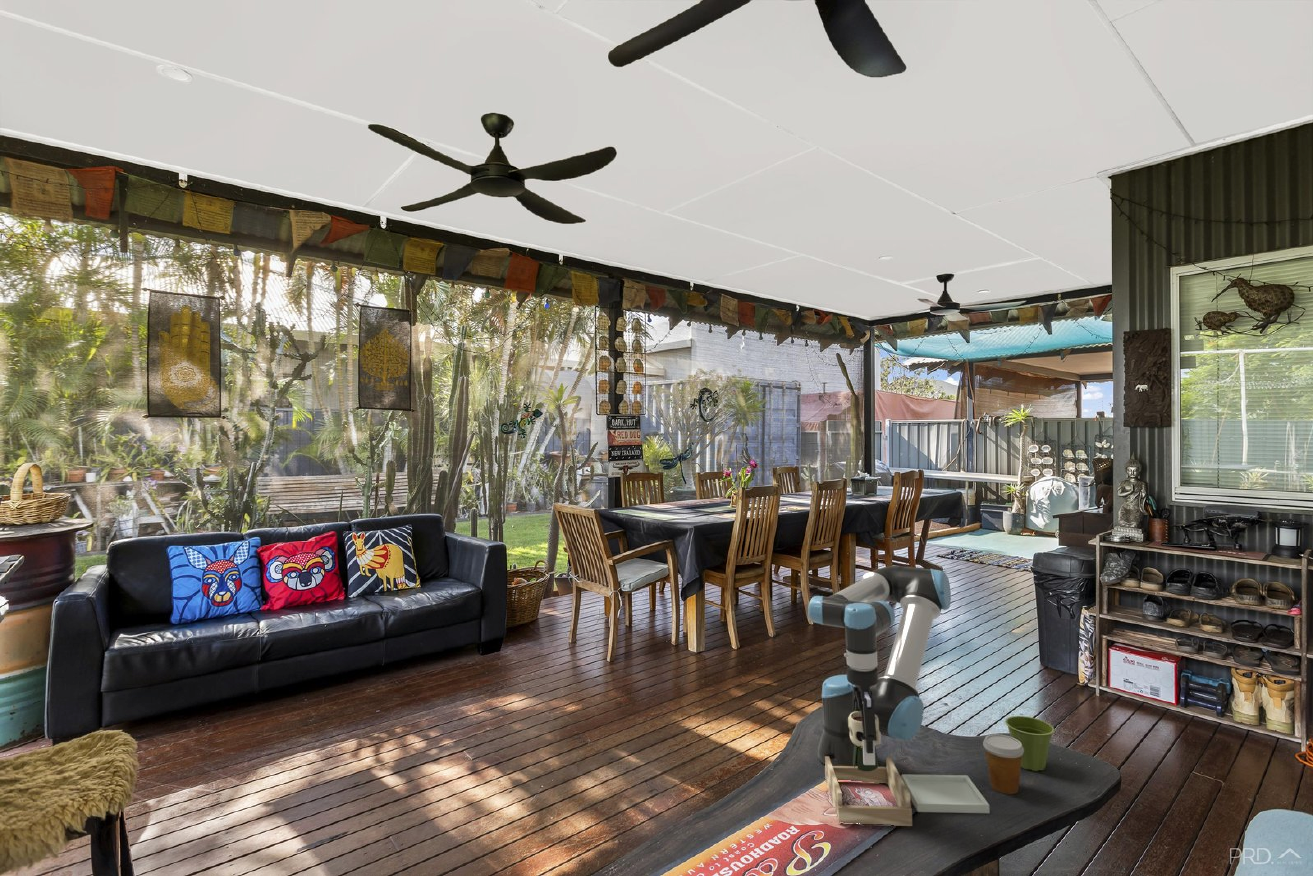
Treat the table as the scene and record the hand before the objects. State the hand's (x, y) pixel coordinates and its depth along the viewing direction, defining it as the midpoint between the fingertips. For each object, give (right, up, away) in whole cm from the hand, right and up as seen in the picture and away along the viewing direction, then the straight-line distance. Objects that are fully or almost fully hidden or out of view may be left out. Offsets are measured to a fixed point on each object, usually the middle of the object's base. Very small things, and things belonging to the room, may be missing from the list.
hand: (865, 754), depth 166 cm
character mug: (0, -3, 0) cm, 3 cm away
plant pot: (+51, -10, +15) cm, 54 cm away
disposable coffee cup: (+38, -11, +4) cm, 39 cm away
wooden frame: (0, -12, 0) cm, 12 cm away
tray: (+20, -11, +1) cm, 23 cm away
